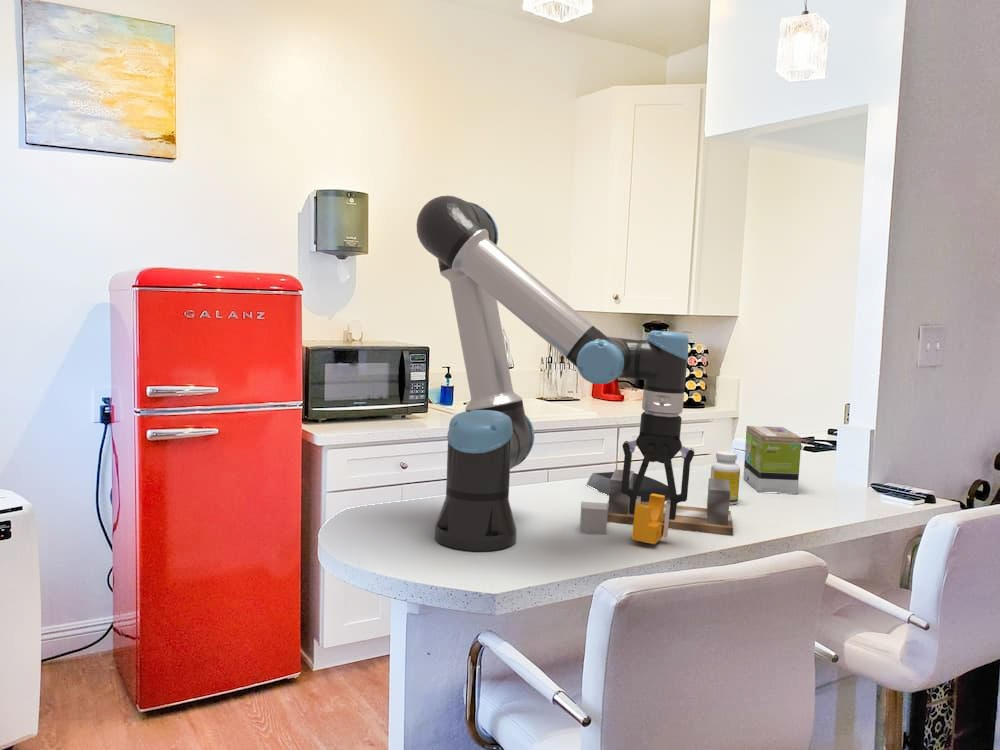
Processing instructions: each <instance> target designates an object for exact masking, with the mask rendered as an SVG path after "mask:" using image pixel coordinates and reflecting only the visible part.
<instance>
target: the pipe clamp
mask: <svg viewBox="0 0 1000 750" xmlns="http://www.w3.org/2000/svg"><path fill="white" fill-rule="evenodd" d="M665 503H666V502H665V496H664V495H658V494H653V493H652V494H651V495H650V498H649V504H648V505H643V504H637V505H636V506H635V513H634V523H633V524H632V533H631V540H633V541H637V542H642V543H647V544H651V545H655V544H657V543H658V542H659V541H660V540H661V539H662V538H664V537H663V532H664V523H662V522H663V512H664V504H665Z"/></svg>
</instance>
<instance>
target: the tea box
mask: <svg viewBox="0 0 1000 750" xmlns="http://www.w3.org/2000/svg"><path fill="white" fill-rule="evenodd" d="M745 432H746V433H745V448H744V450H745V451H744V466H743V480H745V481H746V482H747V483H748V484H749V485H751V487H753V488H754V489H755V490H756V491H757V492H758V493H759V492H780V493H794V494H793V495H798V489H799V475H800V464H801V463H800V461H801V451H802V450H801V449H802V436H800V435H798V434H796V433H794V432H792V431H790V430H789V429H786V428H785V427H782V426H781V427H780V426H764V425H763V426H762V425H758V426H757V425H755V426H752V425H747V426H746V431H745Z"/></svg>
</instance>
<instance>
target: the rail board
mask: <svg viewBox="0 0 1000 750" xmlns="http://www.w3.org/2000/svg"><path fill="white" fill-rule="evenodd" d="M613 472H614V473H613V475H612V477H611V479H610V490H609V496H608V501H607V502H606V505H607V509H608V514H607V523H616V524H617V523H618V524H623V525H624V524H625V525H633V523H634V515H632V514H629V505H630V497H629V496H628V495H626V494H623V493H622V492H621V486H622V477H623V469H614V471H613ZM634 473H635V470H630V479H629V488H631V489H633V475H634ZM729 503H730V487H729V481H728V480H722V479H712V478H711V477H709V478H708V484H707V501H706V508H705V507H698V506H697V507H696V506H686V505H679V504H677V506H676V516H675V519H674V520H670V519H669V525H668V529H669V528H672V529H671V530H678V529H681V531H687V530H690V531H689V532H696V531H698V532H697V533H707V534H715V535H716V534H717V535H723V534H725V536H732V535H733V536H734V525H733V517H732V516H733V515H732V511H731V510H730V505H729ZM640 504H643V505H648V504H649V502H640ZM665 511H666V503H664V512H663V522H662V523H664V522H665Z"/></svg>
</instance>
